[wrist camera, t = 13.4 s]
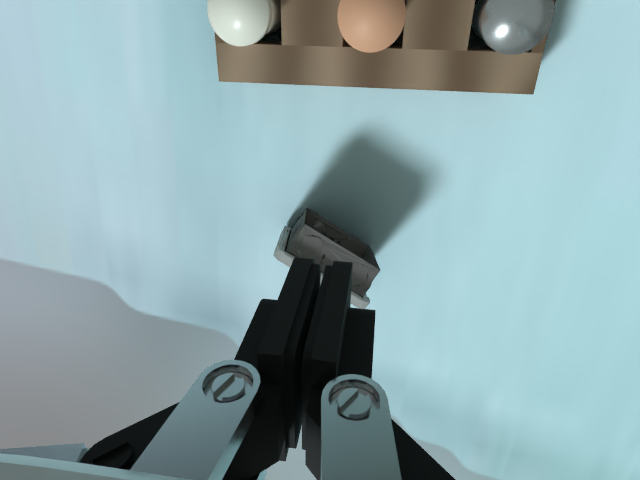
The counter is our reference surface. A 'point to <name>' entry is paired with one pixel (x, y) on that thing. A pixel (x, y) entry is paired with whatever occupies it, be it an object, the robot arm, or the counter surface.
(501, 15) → the plug grey
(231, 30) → the plug ivory
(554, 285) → the counter surface
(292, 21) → the socket board
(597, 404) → the counter surface
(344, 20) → the plug terracotta
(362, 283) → the electrical switch
